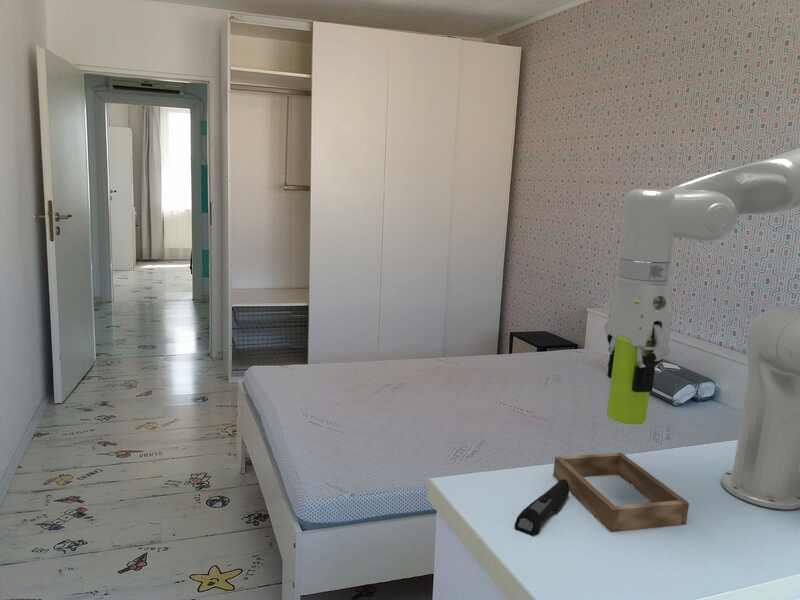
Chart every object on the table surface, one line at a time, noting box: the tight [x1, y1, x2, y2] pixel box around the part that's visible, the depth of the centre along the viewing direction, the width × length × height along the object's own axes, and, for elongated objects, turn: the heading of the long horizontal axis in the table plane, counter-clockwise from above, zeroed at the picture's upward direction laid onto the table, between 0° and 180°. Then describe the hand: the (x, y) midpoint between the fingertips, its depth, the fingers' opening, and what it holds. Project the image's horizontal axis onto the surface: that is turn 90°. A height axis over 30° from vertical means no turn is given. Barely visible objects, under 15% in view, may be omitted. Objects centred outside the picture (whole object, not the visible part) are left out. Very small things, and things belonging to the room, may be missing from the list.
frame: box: [552, 452, 690, 533], centre depth 104 cm, size 13×18×4 cm
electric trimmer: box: [514, 479, 570, 537], centre depth 98 cm, size 4×16×3 cm, turn 144°
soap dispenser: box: [606, 300, 652, 425], centre depth 99 cm, size 6×7×20 cm
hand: (629, 383), depth 100 cm, fingers closed on soap dispenser, 6 cm apart
